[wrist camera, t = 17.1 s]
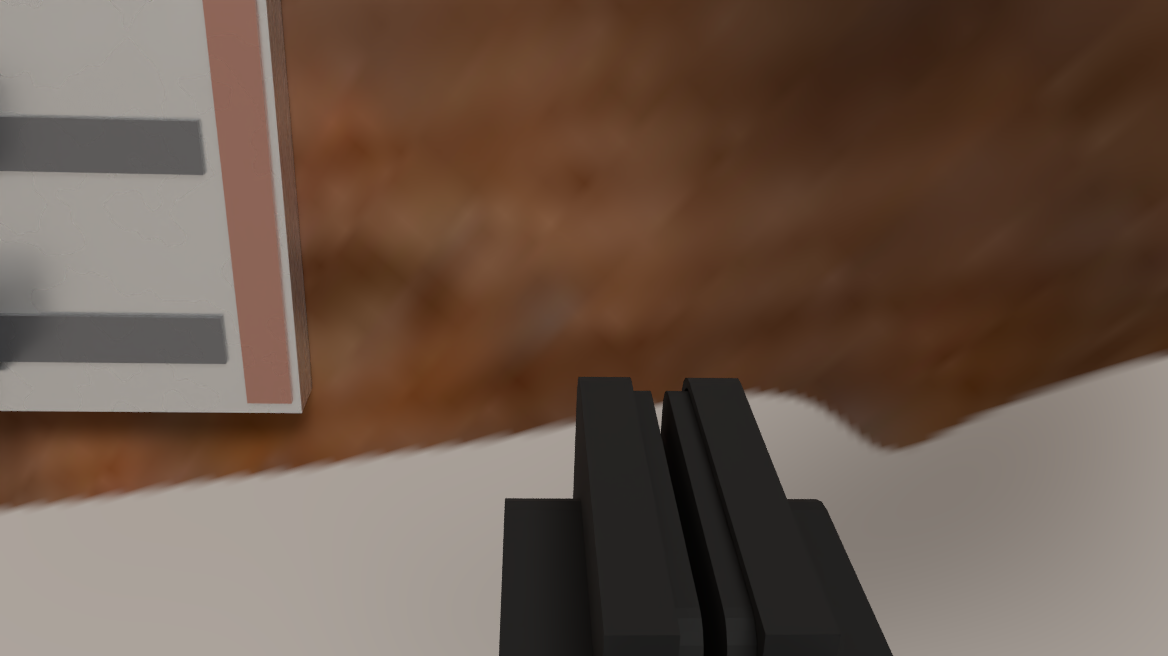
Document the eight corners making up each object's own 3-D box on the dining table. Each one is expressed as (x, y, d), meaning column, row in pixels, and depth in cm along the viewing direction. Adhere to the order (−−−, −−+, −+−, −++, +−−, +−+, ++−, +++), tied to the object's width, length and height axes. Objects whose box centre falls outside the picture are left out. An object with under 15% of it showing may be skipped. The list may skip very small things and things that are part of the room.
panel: (-310, -208, 31) (-368, -213, 29) (265, -185, 32) (248, -188, 30) (-143, 383, 40) (-178, 412, 38) (312, 387, 41) (301, 415, 39)
